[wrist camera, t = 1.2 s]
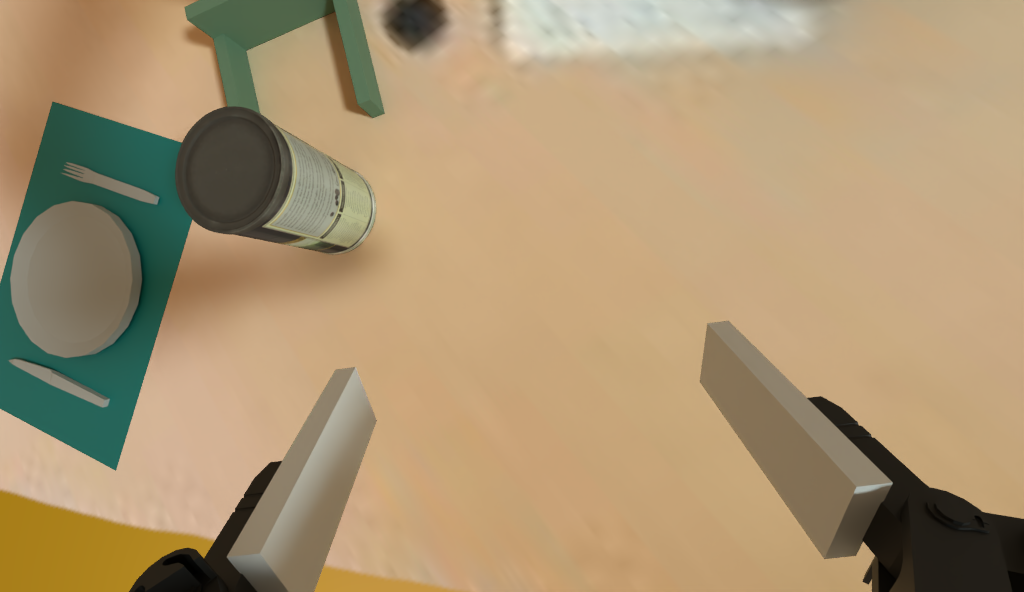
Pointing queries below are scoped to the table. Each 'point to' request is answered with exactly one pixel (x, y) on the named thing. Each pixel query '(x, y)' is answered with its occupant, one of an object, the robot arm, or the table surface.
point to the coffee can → (270, 185)
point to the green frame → (266, 15)
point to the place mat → (89, 279)
